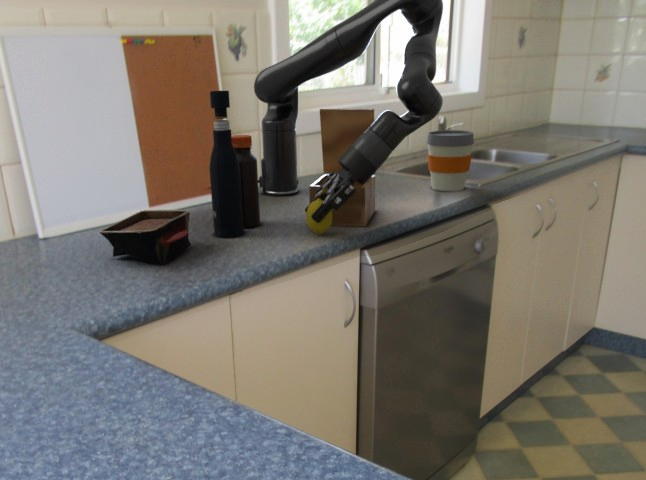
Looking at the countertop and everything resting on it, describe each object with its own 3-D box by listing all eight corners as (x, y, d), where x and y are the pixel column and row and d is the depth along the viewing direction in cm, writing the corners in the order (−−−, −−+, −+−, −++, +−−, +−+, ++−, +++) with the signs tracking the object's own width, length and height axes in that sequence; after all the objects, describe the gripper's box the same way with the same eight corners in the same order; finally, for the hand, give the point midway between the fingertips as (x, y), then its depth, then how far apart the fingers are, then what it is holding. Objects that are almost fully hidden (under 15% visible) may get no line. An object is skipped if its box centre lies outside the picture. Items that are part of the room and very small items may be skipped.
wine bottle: (249, 231, 147) (240, 90, 136) (234, 238, 142) (224, 92, 131) (224, 229, 150) (214, 90, 139) (208, 236, 144) (197, 92, 134)
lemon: (322, 240, 139) (321, 202, 136) (301, 236, 142) (300, 199, 139) (337, 234, 143) (337, 197, 140) (316, 230, 146) (316, 194, 143)
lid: (373, 109, 150) (377, 103, 154) (319, 109, 153) (324, 103, 157) (375, 174, 158) (378, 166, 162) (323, 173, 161) (328, 165, 165)
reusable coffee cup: (452, 194, 177) (455, 137, 172) (415, 188, 186) (417, 133, 181) (480, 187, 185) (483, 132, 179) (443, 181, 194) (446, 129, 188)
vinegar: (235, 221, 156) (230, 134, 149) (263, 221, 155) (259, 134, 148) (226, 228, 150) (220, 138, 143) (255, 229, 149) (250, 138, 142)
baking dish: (98, 271, 130) (89, 224, 124) (148, 234, 144) (141, 191, 139) (162, 283, 125) (155, 235, 120) (207, 244, 139) (202, 200, 134)
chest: (364, 226, 148) (364, 187, 145) (310, 224, 151) (309, 186, 148) (374, 211, 162) (375, 175, 158) (324, 209, 165) (323, 174, 161)
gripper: (388, 174, 134) (331, 236, 136) (367, 163, 147) (315, 220, 149) (363, 149, 131) (305, 213, 133) (343, 140, 144) (291, 198, 146)
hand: (311, 216), depth 141 cm, fingers closed on lemon, 5 cm apart
